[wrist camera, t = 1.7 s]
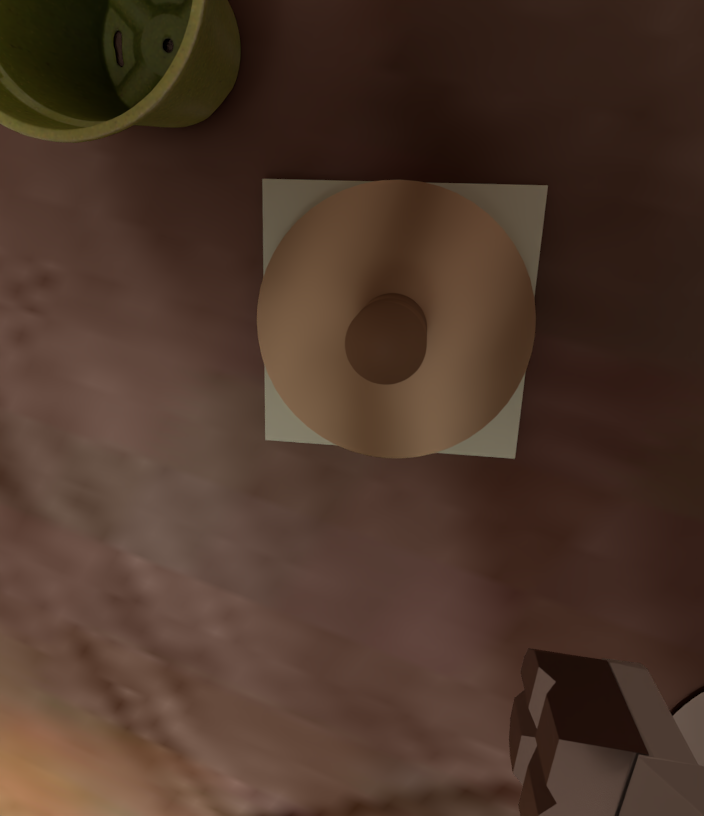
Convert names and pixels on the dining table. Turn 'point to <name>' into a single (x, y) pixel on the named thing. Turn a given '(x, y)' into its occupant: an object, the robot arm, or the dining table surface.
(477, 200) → the mat
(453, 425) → the lid
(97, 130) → the plant pot
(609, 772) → the robot arm
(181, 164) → the dining table surface
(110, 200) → the dining table surface
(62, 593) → the dining table surface
